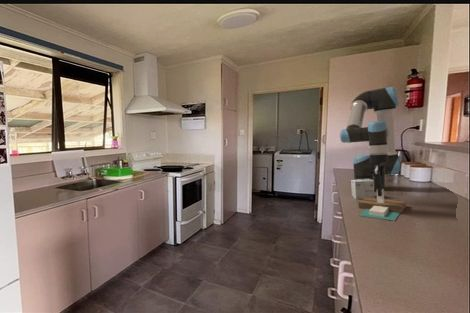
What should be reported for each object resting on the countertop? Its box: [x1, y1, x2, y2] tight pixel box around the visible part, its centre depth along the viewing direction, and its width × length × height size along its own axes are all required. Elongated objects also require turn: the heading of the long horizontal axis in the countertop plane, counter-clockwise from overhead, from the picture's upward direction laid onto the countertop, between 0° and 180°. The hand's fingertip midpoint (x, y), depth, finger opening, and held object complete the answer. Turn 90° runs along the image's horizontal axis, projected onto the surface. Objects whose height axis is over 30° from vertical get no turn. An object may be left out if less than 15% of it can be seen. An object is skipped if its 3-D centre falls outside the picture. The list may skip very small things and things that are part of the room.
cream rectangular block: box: [369, 206, 389, 217], centre depth 109 cm, size 9×6×2 cm, turn 136°
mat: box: [358, 209, 401, 222], centre depth 108 cm, size 12×14×1 cm
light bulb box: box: [350, 179, 376, 200], centre depth 138 cm, size 11×7×11 cm, turn 84°
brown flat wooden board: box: [358, 197, 407, 214], centre depth 117 cm, size 12×18×3 cm, turn 46°
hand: (380, 202), depth 112 cm, fingers closed
